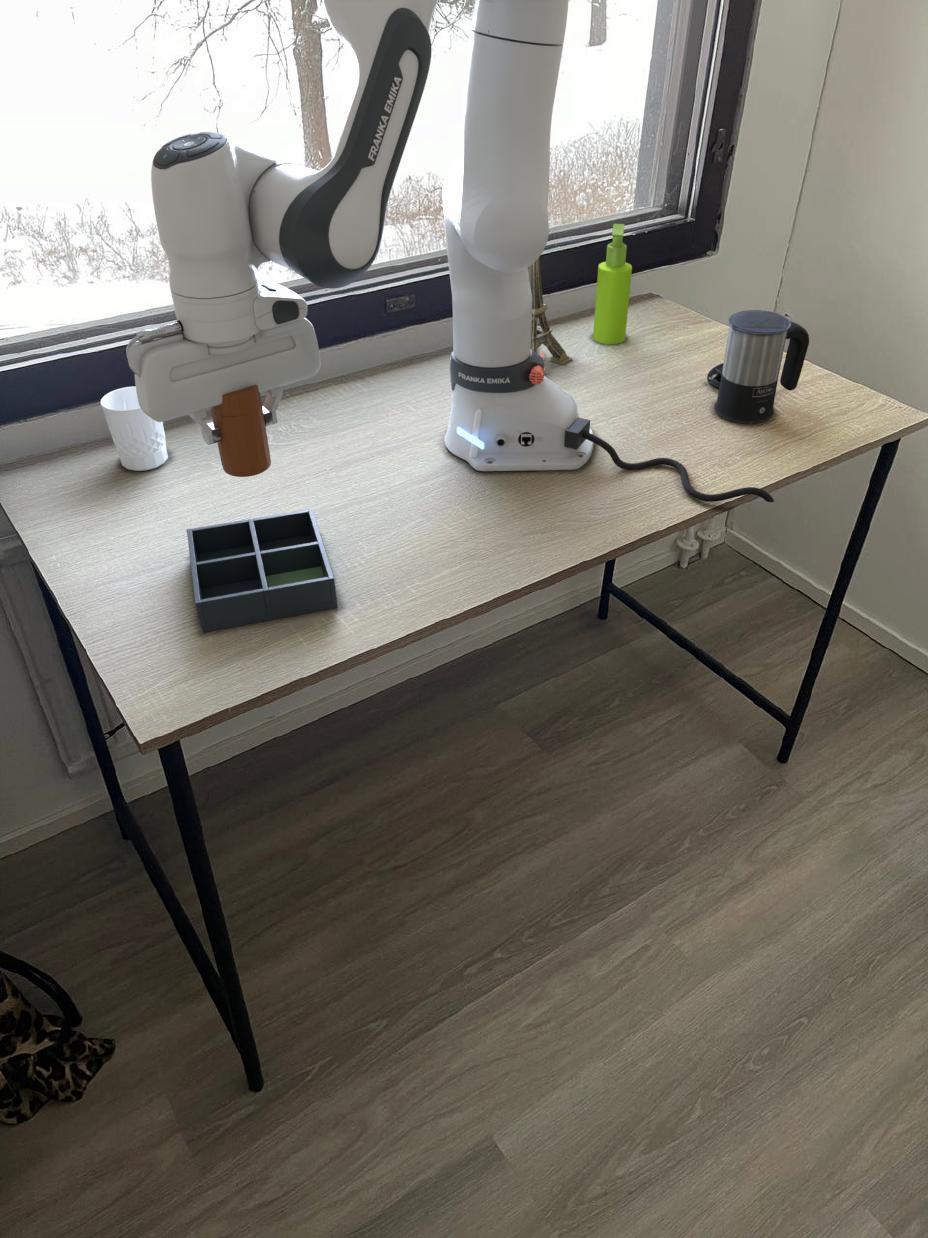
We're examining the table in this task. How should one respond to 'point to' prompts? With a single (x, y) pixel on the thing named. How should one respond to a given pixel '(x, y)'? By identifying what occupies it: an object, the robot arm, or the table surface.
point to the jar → (242, 433)
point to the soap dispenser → (613, 292)
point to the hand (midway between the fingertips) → (241, 432)
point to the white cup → (134, 431)
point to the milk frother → (757, 364)
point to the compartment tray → (259, 570)
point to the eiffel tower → (542, 319)
